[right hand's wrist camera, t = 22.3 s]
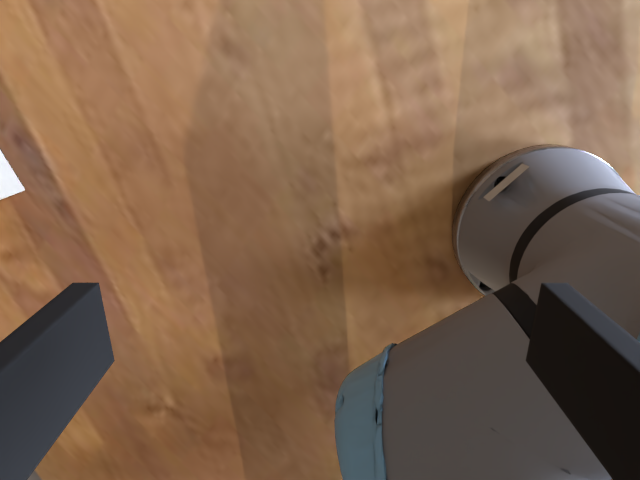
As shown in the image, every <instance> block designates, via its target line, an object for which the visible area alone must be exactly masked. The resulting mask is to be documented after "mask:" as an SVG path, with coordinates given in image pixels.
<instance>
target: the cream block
mask: <svg viewBox="0 0 640 480" xmlns="http://www.w3.org/2000/svg"><path fill="white" fill-rule="evenodd" d="M22 191H25V189H24V187H23V186H22V184H21V182H20V181H19V179H18V178H17V176H16V174H15V173H14V171H13V170H12V168H11V166H10V165H9V163H8V162H7V160H6V158H5V157H4V155H3V153H2V152H1V150H0V200H2V199H4V198H7V197H9V196H12V195H15V194H17V193H20V192H22Z"/></svg>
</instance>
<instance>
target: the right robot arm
mask: <svg viewBox="0 0 640 480" xmlns="http://www.w3.org/2000/svg"><path fill="white" fill-rule="evenodd" d="M452 243H453V250H454V253H455V257H456V259H457V262H458V264H459V266H460V268H461V270H462V271H463V272H464V274H465V275H466V277H467V278H468V279H469V281H470V282H471V283H472V284H473V285H474V287H475V288H476V289H477V290H479V291H480V292H481V293H482V294H484V295H485V297H483V298H481V299H479V300H478V301H476V302H474V303H472V304H470V305H468V306H467V307H465V308H463V309H461V310H459V311H458V312H456V313H454V314H452V315H450V316H448V317H447V318H445V319H443V320H441V321H439V322H438V323H436V324H434V325H432V326H430V327H428V328H427V329H425V330H423V331H421V332H419V333H418V334H416V335H414V336H412V337H410V338H408V339H407V340H405V341H403V342H401V343H399V344H393V343H392V344H390V345H388V346H387V347H385V349H384V350H383V352H382V353H380V354H379V355H377V356H375V357H374V358H372V359H371V360H369V361H367V362H366V363H364V364H362V365H361V366H359V367H358V368H356V369H354V370H353V371H352V372H351V373H349V374H348V376H347V377H346V378H345V379H344V381H343V383H342V385H341V387H340V389H339V392H338V395H337V400H336V410H335V414H336V416H335V438H336V447H337V454H338V459H339V464H340V470H341V474H342V478H343V480H611V479H613V480H640V196H639V195H636V194H635V193H634V192H633V191H632V190H631V189H630V187H629V186H628V185H627V184H626V183H625V182H624V181H623V180H622V179H621V177H620V176H619V175H618V173H617V172H616V171H615V170H614V169H613V168H612V167H611V166H610V165H608V164H607V163H606V162H605V161H603V160H602V159H600V158H599V157H597V156H595V155H593V154H591V153H588V152H585V151H582V150H578V149H574V148H571V147H567V146H561V145H538V146H532V147H528V148H524V149H521V150H518V151H515V152H513V153H510V154H508V155H506V156H504V157H502V158H501V159H499V160H497V161H496V162H494V163H493V164H491V165H490V166H489V167H488V168H486V169H485V170H484V171H483V172H482V173H481V174H480V175H479V176H478V177H477V178H476V179H475V180H474V181H473V182H472V184H471V185H470V186H469V188H468V189H467V191H466V192H465V194H464V195H463V197H462V199H461V201H460V203H459V205H458V208H457V211H456V214H455V218H454V222H453V229H452ZM113 362H114V356H113V351H112V346H111V341H110V336H109V331H108V326H107V322H106V317H105V312H104V307H103V302H102V297H101V292H100V287H99V283H72V284H71V285H70V286H68V287H67V288H66V289H65V290H63V291H62V292H61V293H60V294H59V295H57V296H56V297H55V298H54V299H52V300H51V301H50V302H49V303H48V304H46V305H45V306H44V307H43V308H41V309H40V310H39V311H38V312H37V313H35V314H34V315H33V316H32V317H30V318H29V319H28V320H27V321H26V322H24V323H23V324H22V325H21V326H19V327H18V328H17V329H16V330H15V331H13V332H12V333H11V334H10V335H8V336H7V337H6V338H5V339H4V340H2V341H1V342H0V480H27V479H28V478H29V476H30V475H31V474H32V472H33V471H34V470H35V468H36V467H37V465H38V464H39V463H40V461H41V460H42V459H43V457H44V456H45V455H46V453H47V452H48V450H49V449H50V448H51V446H52V445H53V444H54V442H55V441H56V440H57V438H58V437H59V435H60V434H61V433H62V431H63V430H64V429H65V427H66V426H67V425H68V423H69V422H70V420H71V419H72V418H73V416H74V415H75V414H76V412H77V411H78V410H79V408H80V407H81V406H82V404H83V403H84V401H85V400H86V399H87V397H88V396H89V395H90V393H91V392H92V391H93V389H94V388H95V386H96V385H97V384H98V382H99V381H100V380H101V378H102V377H103V376H104V374H105V373H106V371H107V370H108V369H109V367H110V366H111V365H112V363H113Z"/></svg>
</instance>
